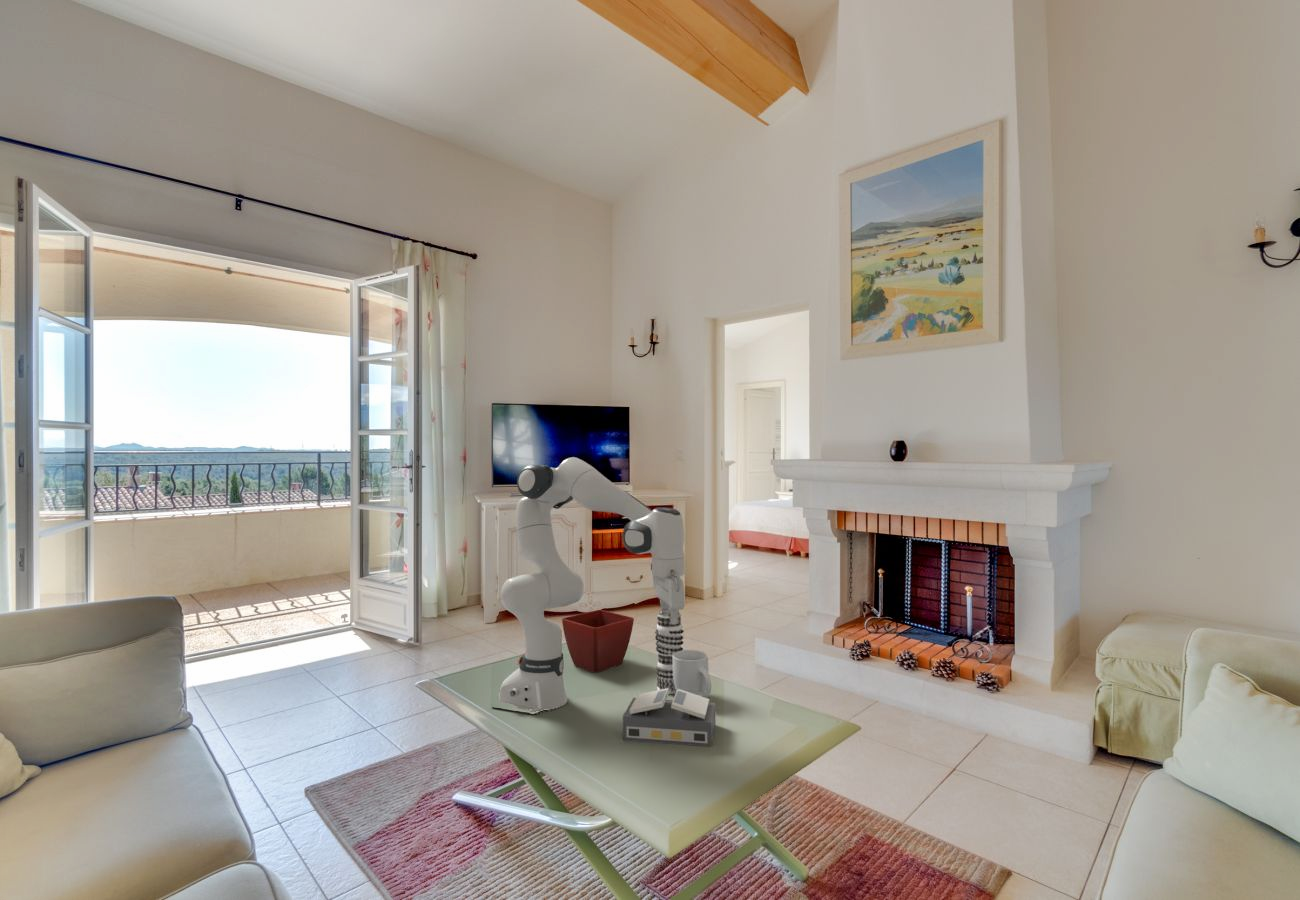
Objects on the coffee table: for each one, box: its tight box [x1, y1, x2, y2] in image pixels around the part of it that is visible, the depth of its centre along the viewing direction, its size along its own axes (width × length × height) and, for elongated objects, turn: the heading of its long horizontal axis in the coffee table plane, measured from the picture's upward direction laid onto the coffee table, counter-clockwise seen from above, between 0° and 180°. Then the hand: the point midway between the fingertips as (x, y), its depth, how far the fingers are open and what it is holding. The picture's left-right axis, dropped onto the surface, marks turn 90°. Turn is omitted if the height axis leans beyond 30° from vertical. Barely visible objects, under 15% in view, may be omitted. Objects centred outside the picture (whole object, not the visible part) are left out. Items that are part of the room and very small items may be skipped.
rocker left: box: [629, 688, 670, 714], centre depth 161 cm, size 9×11×1 cm
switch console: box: [622, 697, 716, 748], centre depth 160 cm, size 23×13×7 cm, turn 79°
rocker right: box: [671, 689, 710, 719], centre depth 159 cm, size 9×11×1 cm
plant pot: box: [561, 609, 635, 673], centre depth 216 cm, size 19×19×17 cm
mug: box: [672, 649, 712, 698], centre depth 182 cm, size 15×11×13 cm
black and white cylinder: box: [654, 607, 685, 695], centre depth 191 cm, size 9×9×25 cm
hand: (669, 619), depth 161 cm, fingers open, 8 cm apart
